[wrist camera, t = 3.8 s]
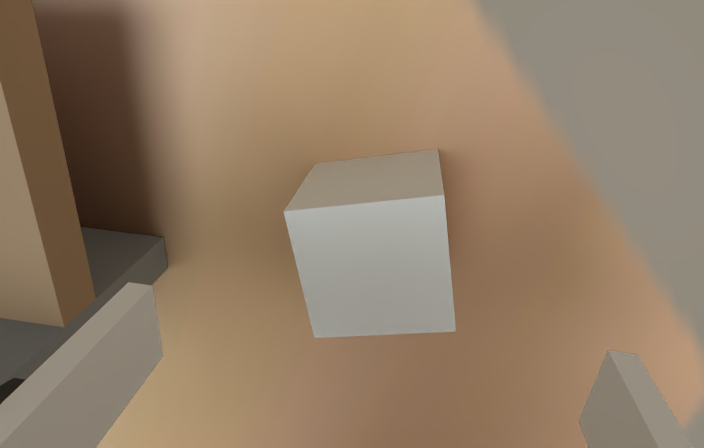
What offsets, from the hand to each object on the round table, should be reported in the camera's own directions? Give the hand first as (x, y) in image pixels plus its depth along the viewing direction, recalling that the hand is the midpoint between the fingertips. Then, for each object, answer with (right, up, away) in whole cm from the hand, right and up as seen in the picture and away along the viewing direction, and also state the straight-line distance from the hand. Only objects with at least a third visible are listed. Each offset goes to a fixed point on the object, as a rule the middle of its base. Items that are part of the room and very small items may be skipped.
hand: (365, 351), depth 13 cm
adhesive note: (+1, +4, +10) cm, 11 cm away
